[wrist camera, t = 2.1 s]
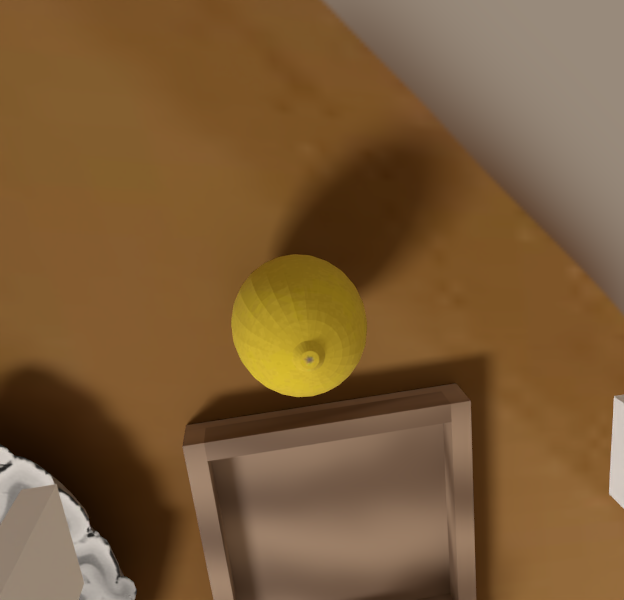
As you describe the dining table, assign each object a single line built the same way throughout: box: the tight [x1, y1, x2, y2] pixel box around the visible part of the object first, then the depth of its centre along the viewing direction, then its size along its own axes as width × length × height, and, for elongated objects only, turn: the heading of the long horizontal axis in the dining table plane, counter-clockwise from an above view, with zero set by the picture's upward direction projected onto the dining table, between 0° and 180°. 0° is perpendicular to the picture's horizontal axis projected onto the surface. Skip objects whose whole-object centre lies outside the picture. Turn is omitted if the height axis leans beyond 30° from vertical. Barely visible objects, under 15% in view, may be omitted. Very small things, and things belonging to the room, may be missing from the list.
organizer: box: [183, 383, 476, 600], centre depth 33 cm, size 22×14×2 cm, turn 6°
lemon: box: [231, 254, 367, 397], centre depth 24 cm, size 6×6×8 cm
